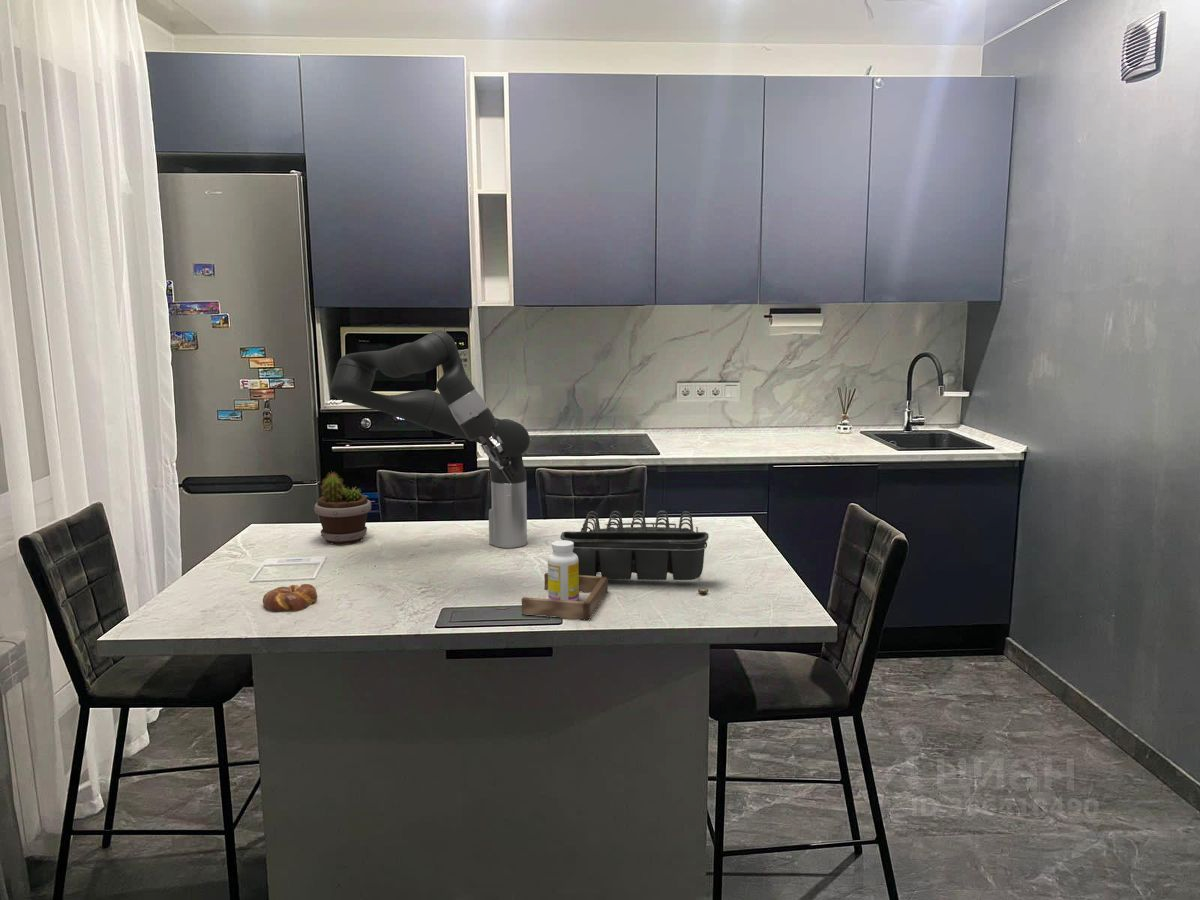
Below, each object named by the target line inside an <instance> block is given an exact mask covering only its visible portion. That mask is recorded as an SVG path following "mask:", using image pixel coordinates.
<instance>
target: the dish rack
mask: <svg viewBox="0 0 1200 900" xmlns="http://www.w3.org/2000/svg"><path fill="white" fill-rule="evenodd" d="M616 513H617V514H616ZM639 513H640V514H639ZM591 516H592V517H593V518H592V517H591ZM616 517H617V518H616ZM622 517H623V516H622V514H621V512H620V511H618V510H614V511H612V512H611V513H610V514H609V518H608V521H607V523H606V524H604V526H606V528H601V526H600V519H599V515H598V513H597V512H596V511H593V510H592V511H589V512H588V513H587V515H586V517H585V520H584V522H583V524H582V527H581V529H580V531H568V530H567V531H562V532H561V534H560V536H559V538H560V539H561V540H567V541H572V542H573V543H574V549H573V553H575V554H576V555H577V556H578V562H579V575H586V576H597V574H598V573H600V576H601V577H608V580H618V581H619V580H623V581H624V580H627V581H629V580H632V577H633V576H632V574H636V578H637V579H636V580H638V581H645V580H646V581H666V580H667V578H668V574H671V575H672V578H673V579H672V580H673V581H693V580H697V579H698V578H700V577H701V575H702V574H703V569H704V560H705V550H706V549H707V547H708V542H707V541H708V540H709V537H710V536H709V532H706V531H699V527H698V526H695V528H696V529H695V530H694V524H693V515H692V513H691V512H689V511H687V510H685V511H683V512H681V514H680V517H679V523H678V527H677V524H676V523H671V522H670V521H669V514H668V512H666V511H665V510H660V511H658V512H657V514H656V520H655V522H646V516H645V514H644V512H643V511H641V510H636V511H635V512H634V513H633V515H632V521H631V522H625V523H624V522H623V518H622ZM640 517H641V518H640ZM684 517H687V518H684ZM589 520H590V521H589ZM614 520H615V521H614ZM592 521H593V522H592ZM639 521H640V522H639ZM589 524H591V525H592V528H591V527H590V526H589ZM635 525H639V526H635ZM647 525H652V526H647ZM683 525H688V526H689V528H688V527H683ZM614 526H616V527H614ZM624 526H625V527H624ZM626 526H627V527H626ZM662 526H663V527H662ZM670 526H674V527H670ZM588 529H589V530H588Z"/></svg>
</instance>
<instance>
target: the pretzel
mask: <svg viewBox="0 0 1200 900" xmlns="http://www.w3.org/2000/svg"><path fill="white" fill-rule="evenodd" d="M317 600H318V592H317V589H316V587H314V585H312V584H310V583H304V584H303V583H302V584H300V586H299V585H298V584H292V585H289V586H279V587H276V588H274V589H271V590H269V591H267V592H266V593H265V594H264V595H263V597H262V604H263V606H264V607H265V608H266V609H267V610H269V611H272V612H276V613H277V612H285V611H290V612H295V611H297V612H298V611H301V610H304V609H306V608H307V607H308V606H310V605H312V603H313V604H314V603H315V602H316V601H317Z"/></svg>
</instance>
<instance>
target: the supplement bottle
mask: <svg viewBox="0 0 1200 900" xmlns="http://www.w3.org/2000/svg"><path fill="white" fill-rule="evenodd" d="M551 549H552V553H550V554H549V556H547V573H548V590H547V593H548V595H547V597H548V598H547V599H555V600H568V601H579V598H580V592H579V562H578V556H577V555H576V554H575V553H573V549H574V543H573V542H572V541H567V540H562V539H561V540H555V541H552V543H551Z"/></svg>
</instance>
